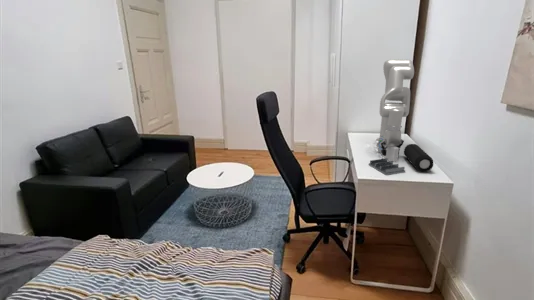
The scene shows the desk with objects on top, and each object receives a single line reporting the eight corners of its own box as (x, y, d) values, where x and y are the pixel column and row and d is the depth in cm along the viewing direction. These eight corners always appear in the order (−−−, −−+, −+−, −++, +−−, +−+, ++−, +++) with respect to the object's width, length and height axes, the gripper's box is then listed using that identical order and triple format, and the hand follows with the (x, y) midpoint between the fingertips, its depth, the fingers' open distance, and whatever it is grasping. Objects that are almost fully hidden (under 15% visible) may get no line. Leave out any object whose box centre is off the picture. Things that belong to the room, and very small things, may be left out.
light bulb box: (377, 152, 199) (379, 137, 195) (382, 150, 203) (384, 135, 199) (392, 156, 191) (394, 140, 187) (397, 154, 195) (399, 138, 191)
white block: (382, 156, 190) (384, 143, 187) (386, 156, 191) (388, 143, 188) (393, 162, 181) (395, 148, 178) (397, 161, 182) (399, 148, 179)
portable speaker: (433, 173, 165) (436, 157, 161) (414, 172, 166) (417, 156, 163) (417, 157, 189) (420, 142, 185) (401, 157, 190) (403, 142, 187)
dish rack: (368, 164, 177) (369, 160, 176) (386, 162, 181) (387, 157, 180) (385, 175, 163) (386, 170, 162) (405, 172, 167) (405, 167, 166)
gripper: (401, 125, 185) (397, 150, 191) (378, 127, 180) (375, 153, 186) (409, 128, 178) (405, 154, 184) (386, 131, 174) (382, 157, 179)
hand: (390, 154), depth 185 cm, fingers open, 9 cm apart
